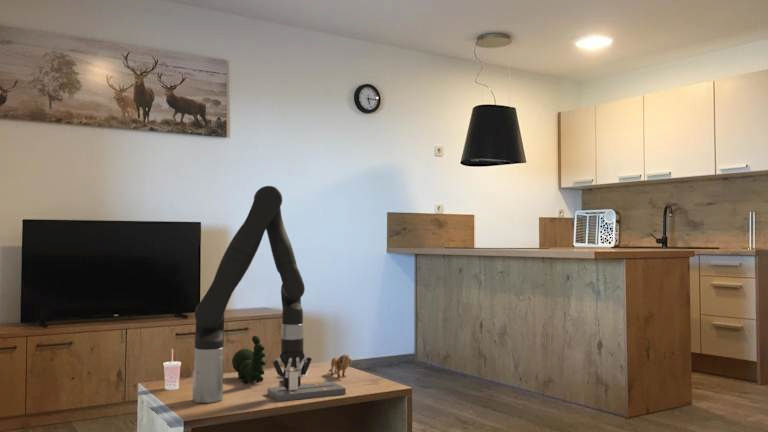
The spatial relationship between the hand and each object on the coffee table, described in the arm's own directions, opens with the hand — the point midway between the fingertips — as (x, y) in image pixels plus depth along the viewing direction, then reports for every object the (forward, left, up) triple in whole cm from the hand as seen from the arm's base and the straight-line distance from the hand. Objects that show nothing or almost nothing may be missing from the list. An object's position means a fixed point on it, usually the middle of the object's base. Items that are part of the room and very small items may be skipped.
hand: (291, 387), depth 226 cm
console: (+5, 0, -3) cm, 6 cm away
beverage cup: (-35, +29, -3) cm, 45 cm away
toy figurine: (-7, +30, -3) cm, 31 cm away
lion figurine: (+27, +23, -3) cm, 36 cm away
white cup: (+14, +32, -3) cm, 35 cm away
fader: (0, 0, -3) cm, 3 cm away
